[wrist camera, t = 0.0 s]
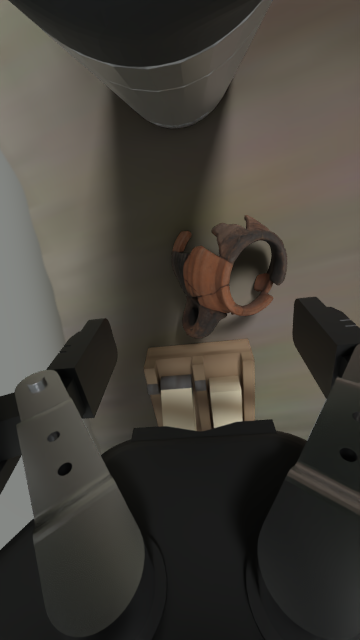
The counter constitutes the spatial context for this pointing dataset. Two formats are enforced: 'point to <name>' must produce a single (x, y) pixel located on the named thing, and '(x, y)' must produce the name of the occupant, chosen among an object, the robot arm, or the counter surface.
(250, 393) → the wooden slat frame
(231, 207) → the counter surface
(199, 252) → the pottery mug
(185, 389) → the hinged leg
